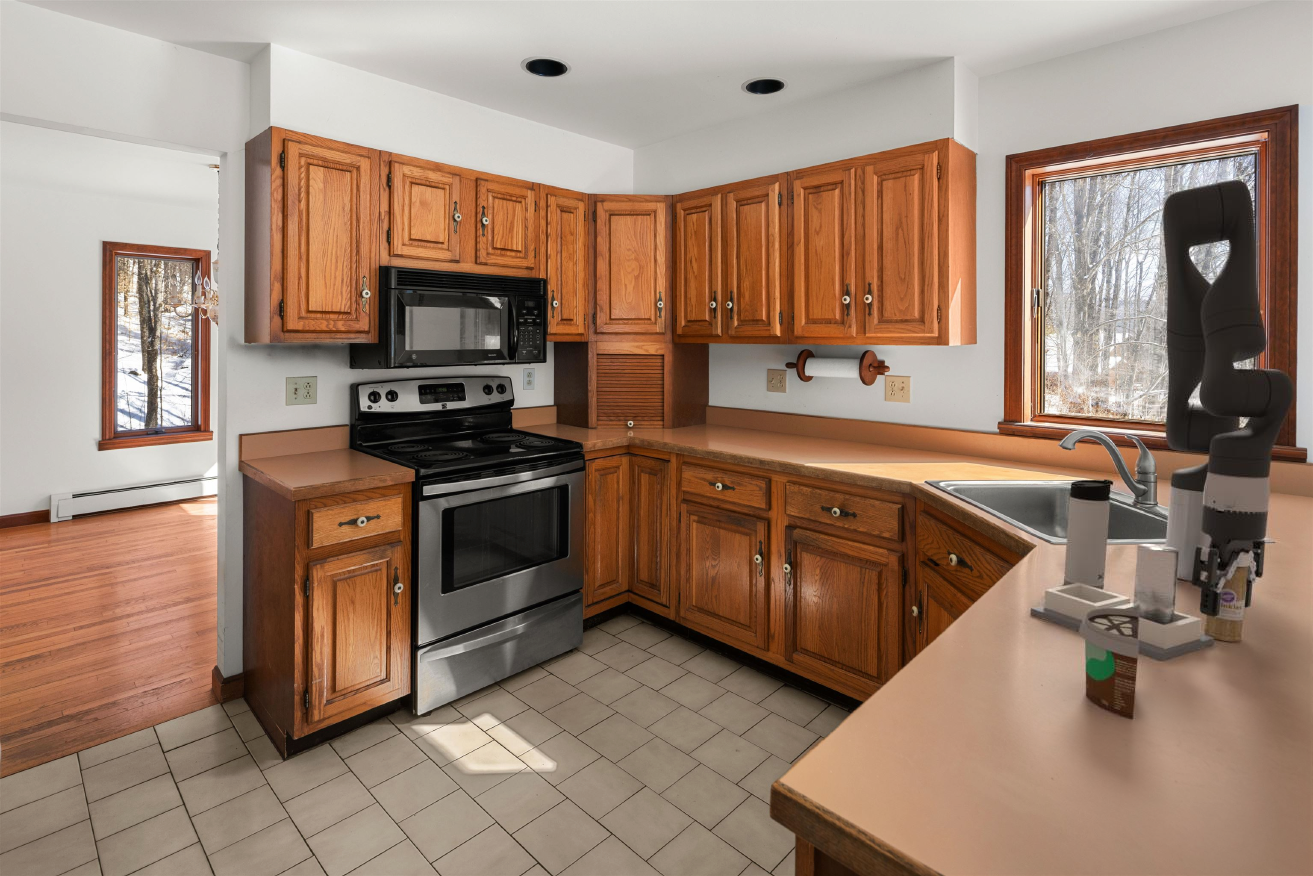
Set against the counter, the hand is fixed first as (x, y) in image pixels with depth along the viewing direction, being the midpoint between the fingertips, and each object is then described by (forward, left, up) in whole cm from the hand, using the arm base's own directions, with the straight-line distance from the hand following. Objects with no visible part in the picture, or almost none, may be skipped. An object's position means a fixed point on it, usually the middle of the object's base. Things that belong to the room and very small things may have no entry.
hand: (1224, 610), depth 106 cm
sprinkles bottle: (0, 0, -4) cm, 4 cm away
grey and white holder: (+11, -9, -4) cm, 15 cm away
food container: (+35, +4, -4) cm, 36 cm away
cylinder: (+11, -4, -4) cm, 12 cm away
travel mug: (-4, -24, -4) cm, 25 cm away
